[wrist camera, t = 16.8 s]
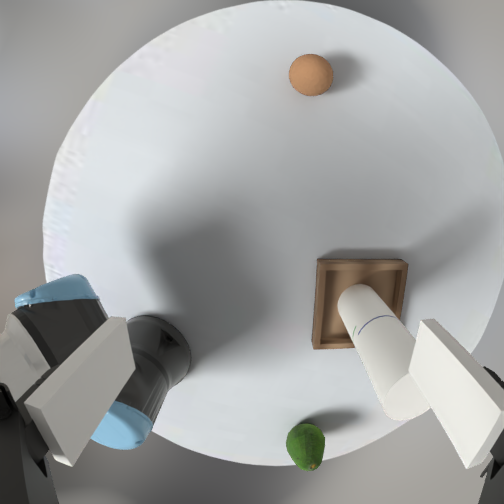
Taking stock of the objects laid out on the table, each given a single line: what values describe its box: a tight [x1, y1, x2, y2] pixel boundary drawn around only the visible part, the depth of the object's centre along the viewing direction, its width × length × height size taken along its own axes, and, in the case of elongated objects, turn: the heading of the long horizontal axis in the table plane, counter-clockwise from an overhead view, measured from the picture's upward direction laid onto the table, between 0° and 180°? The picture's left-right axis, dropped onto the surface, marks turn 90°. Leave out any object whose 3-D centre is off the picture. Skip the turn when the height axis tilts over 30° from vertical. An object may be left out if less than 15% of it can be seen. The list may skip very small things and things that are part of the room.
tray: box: [312, 259, 408, 349], centre depth 49 cm, size 15×15×3 cm
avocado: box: [286, 423, 325, 471], centre depth 52 cm, size 8×8×12 cm
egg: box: [289, 54, 333, 96], centre depth 38 cm, size 6×6×8 cm
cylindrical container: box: [338, 284, 431, 421], centre depth 37 cm, size 7×7×25 cm
